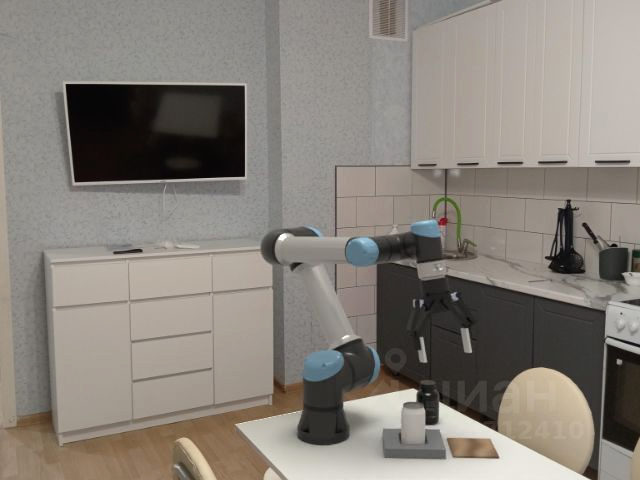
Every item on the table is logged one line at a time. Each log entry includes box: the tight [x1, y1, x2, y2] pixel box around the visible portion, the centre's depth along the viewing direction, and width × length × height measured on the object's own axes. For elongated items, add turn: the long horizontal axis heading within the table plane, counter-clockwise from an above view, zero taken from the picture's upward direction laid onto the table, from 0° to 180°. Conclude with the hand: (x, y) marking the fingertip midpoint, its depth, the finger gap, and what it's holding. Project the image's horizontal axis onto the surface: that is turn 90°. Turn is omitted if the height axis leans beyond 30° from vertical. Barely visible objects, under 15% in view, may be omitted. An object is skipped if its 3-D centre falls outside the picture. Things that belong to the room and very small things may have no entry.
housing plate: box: [382, 428, 447, 460], centre depth 178 cm, size 16×14×2 cm
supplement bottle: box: [415, 379, 440, 426], centre depth 197 cm, size 7×7×12 cm
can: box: [400, 401, 426, 444], centre depth 178 cm, size 6×6×12 cm
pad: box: [446, 437, 500, 459], centre depth 177 cm, size 12×12×1 cm
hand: (446, 357), depth 173 cm, fingers open, 13 cm apart
